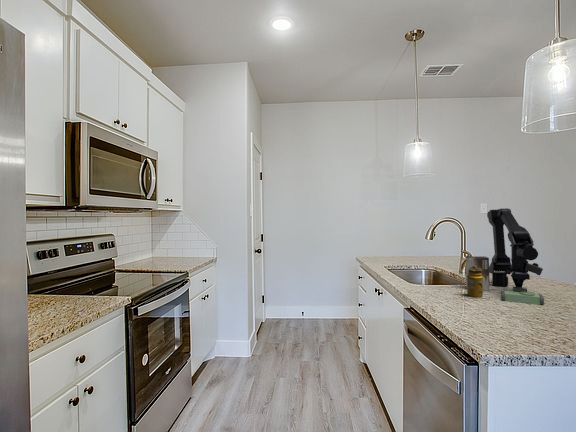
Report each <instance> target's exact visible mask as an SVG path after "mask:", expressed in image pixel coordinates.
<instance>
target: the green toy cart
mask: <svg viewBox="0 0 576 432" xmlns="http://www.w3.org/2000/svg"><path fill="white" fill-rule="evenodd" d="M500 298H501V301H505V302H512V303H522V304H531V305H544V306H545V298H544V297H543V295H542V294H540V293H535V292H532V291H527V292H514V291H512V289H507V290H500Z"/></svg>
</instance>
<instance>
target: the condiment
mask: <svg viewBox="0 0 576 432" xmlns="http://www.w3.org/2000/svg"><path fill="white" fill-rule="evenodd" d="M481 272H482V271H481V270H477V269H469V270H468V276H467V287H466V289H467V290H466V291H467V292H466V293H459V295H460V296H462V297H464V298H467V299H487V296H483V293H484V291H483V277H482V276H481V275H482V274H481Z"/></svg>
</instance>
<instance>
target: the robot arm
mask: <svg viewBox="0 0 576 432" xmlns="http://www.w3.org/2000/svg"><path fill="white" fill-rule="evenodd" d="M486 216H487V218H488V219H487V220H488V223H489V225H491V226H492V233H493V247H494V248H493V249H494V255H493V256H492V258H491V263H489V274H491V276H492V278H491V280H492V281H491V286H492V287H493V286H494V287H502V288H503V287H504V288H508V286H509V275H510V276H511V279H512V281H513V284H514V287H523V284H524V282H525V281H526V280H531V277H530V273H532V274H536V275H537V276H541V275H542V273H543V271H544V268H542V267H540V266H539V264H538V263H536V262H533V263H530V262H529V261H534V260H536V259H537V258H538V257H539V252H538V250H537V249H536V248H535V247H534V240H533V238H532V236H531V234H530V233H529V231H528V230H527V229H526V227H524V226H521V225H520V224H519V223H518V221H517V219H516V218H515V216H514V215H513V213H512V210H511V209H510V208H498V209H489V211H487V214H486ZM504 226H505V227H506V229H507V231H508V233H507V238H508V241H509V243H510V245H509V247H511V248H510V249H511V253H510V254H511V255H510V256H508V254H506V243H505V242H506V241H505V229H504V228H505V227H504ZM529 272H530V273H529Z"/></svg>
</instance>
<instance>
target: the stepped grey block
mask: <svg viewBox="0 0 576 432" xmlns="http://www.w3.org/2000/svg"><path fill="white" fill-rule="evenodd" d="M511 291H514V292H528V288H527V287H523V286H522V287H516V286H515V285H513V286H512V289H511Z"/></svg>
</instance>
